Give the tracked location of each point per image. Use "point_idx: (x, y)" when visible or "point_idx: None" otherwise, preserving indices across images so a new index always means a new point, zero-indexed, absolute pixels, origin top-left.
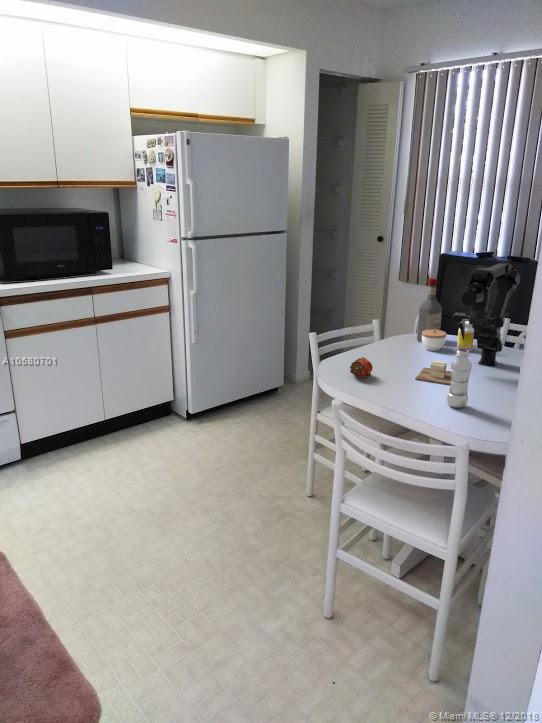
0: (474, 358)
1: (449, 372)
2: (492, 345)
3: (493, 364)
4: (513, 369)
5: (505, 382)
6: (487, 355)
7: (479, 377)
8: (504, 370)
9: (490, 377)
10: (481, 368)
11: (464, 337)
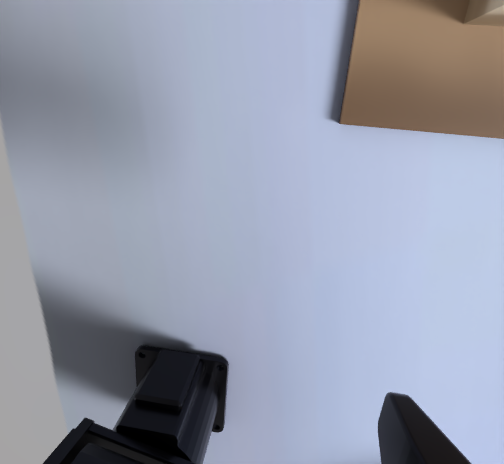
0: (258, 441)
1: (424, 98)
2: (79, 454)
3: (145, 359)
4: (45, 325)
5: (23, 66)
6: (160, 396)
7: (194, 106)
8: (81, 297)
9: (128, 136)
10: (204, 294)
11: (382, 456)
